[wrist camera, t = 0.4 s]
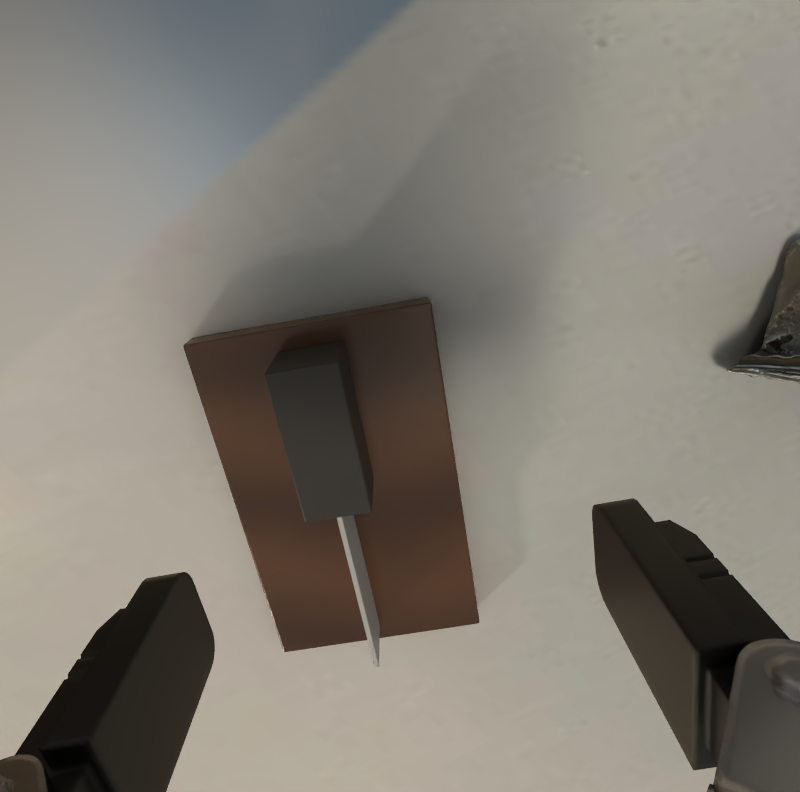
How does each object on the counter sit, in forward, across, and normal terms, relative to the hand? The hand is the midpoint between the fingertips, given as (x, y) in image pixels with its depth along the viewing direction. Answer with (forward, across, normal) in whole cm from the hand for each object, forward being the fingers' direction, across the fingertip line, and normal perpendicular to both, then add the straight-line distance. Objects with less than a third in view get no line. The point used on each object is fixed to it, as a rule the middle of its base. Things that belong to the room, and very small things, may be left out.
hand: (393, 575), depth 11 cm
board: (+16, +3, +7) cm, 17 cm away
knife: (+15, +3, +7) cm, 16 cm away
